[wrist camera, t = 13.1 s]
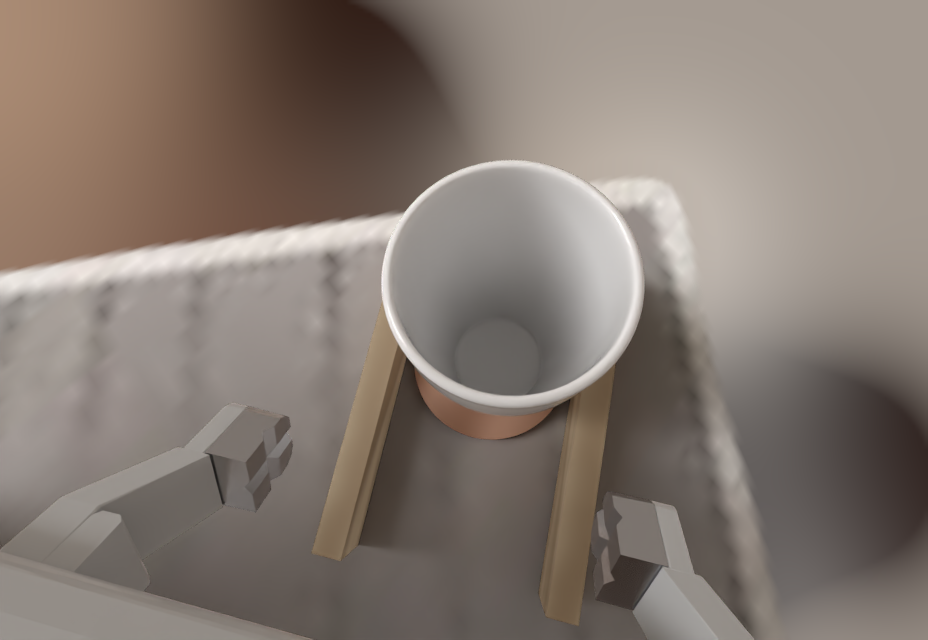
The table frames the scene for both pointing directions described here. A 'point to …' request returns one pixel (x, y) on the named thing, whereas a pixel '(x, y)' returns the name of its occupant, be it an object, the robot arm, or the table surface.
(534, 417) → the guide channel
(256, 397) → the table surface
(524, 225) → the white cup
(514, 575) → the table surface
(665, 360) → the table surface
